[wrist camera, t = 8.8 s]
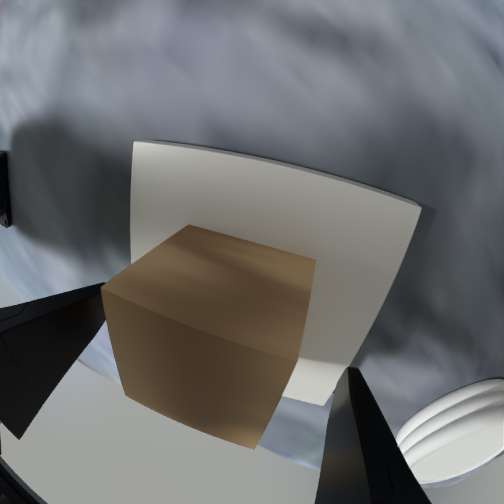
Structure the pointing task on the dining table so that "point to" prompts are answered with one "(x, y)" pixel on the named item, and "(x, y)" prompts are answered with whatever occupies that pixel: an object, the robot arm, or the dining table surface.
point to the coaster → (455, 432)
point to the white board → (283, 237)
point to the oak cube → (210, 330)
